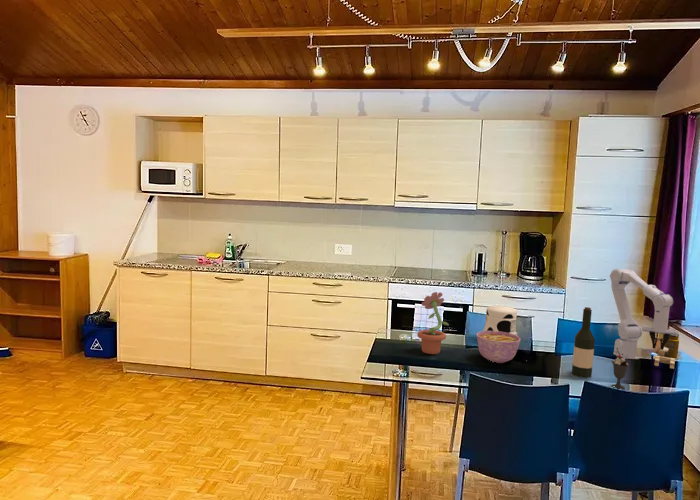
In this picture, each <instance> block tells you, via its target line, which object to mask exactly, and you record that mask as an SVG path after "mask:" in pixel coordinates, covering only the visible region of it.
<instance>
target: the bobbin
mask: <svg viewBox="0 0 700 500" xmlns="http://www.w3.org/2000/svg"><path fill="white" fill-rule="evenodd" d="M666 351H668V348H666V347H664V349H663V350H662V349H661V354H657V353H656V355H657V356H663V357H664V353H665V352H666ZM656 355H653V357H652V359H654V360H655V357H656Z"/></svg>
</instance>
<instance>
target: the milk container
mask: <svg viewBox="0 0 700 500" xmlns="http://www.w3.org/2000/svg"><path fill="white" fill-rule="evenodd" d="M485 313H486V314H485V324H484V327H483V330H482V331H500V332H506V333H510V334H514V335H516V336H518V330H517V319H518V318H517V316H518V315H517V314H518V310H517V309H516V308H514V307H511V306H505V305H489V306H487V307H486V311H485Z"/></svg>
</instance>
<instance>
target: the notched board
mask: <svg viewBox="0 0 700 500" xmlns="http://www.w3.org/2000/svg"><path fill="white" fill-rule="evenodd" d="M655 356H656V357H655V359H654V365H653V366H656V367H659V364H661V363H663V364H668V365H669V369H673V370H674V369H675V364H676V363H675V361H676V359H675V358H669V357H663V356H657V354H656V355H655Z"/></svg>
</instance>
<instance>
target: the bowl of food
mask: <svg viewBox="0 0 700 500" xmlns="http://www.w3.org/2000/svg"><path fill="white" fill-rule="evenodd" d="M476 340H477V346H478V351H479V354H480V356H482V357H483V358H485V359H487V361H489V360H490V361H489V362H491V361H492V362H491V363H494V362H496V363H497V364H504V363H506V362H509V361H511V360H513V358H514V357H515V356H516V354H517V352H518V349H519V345H520V343H521V337H520V336H518V335H517V336H516V335H514V334H510V333H506V332H500V331H483V330H482V331H478V332H477V333H476Z"/></svg>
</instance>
